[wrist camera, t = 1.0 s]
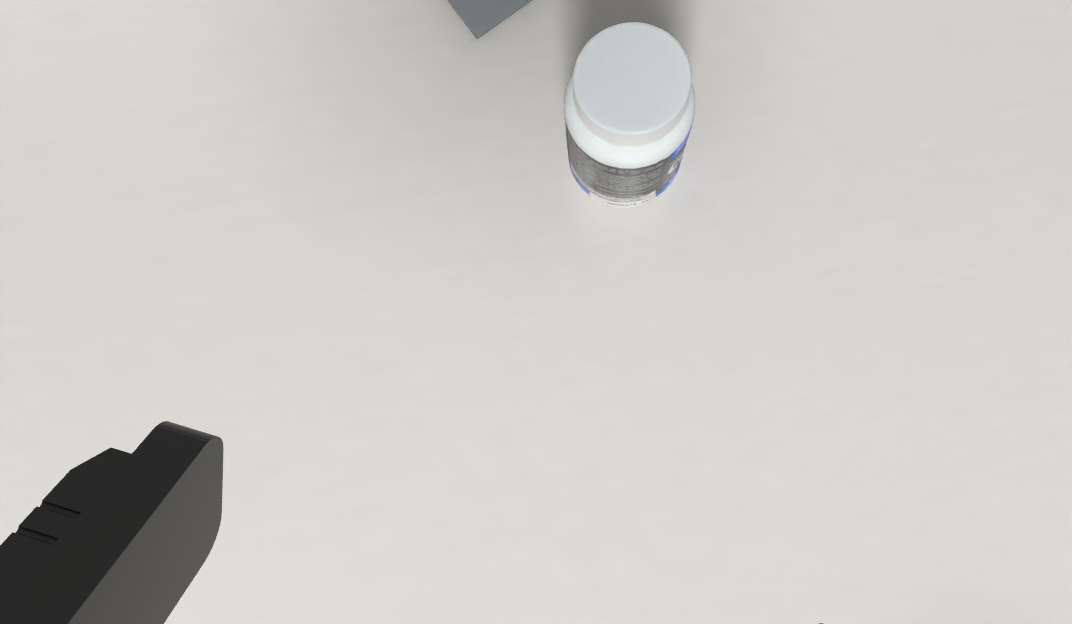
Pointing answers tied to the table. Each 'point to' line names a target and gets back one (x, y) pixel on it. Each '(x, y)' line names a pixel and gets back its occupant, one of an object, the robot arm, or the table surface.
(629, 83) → the pill bottle
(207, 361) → the table surface
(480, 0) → the rubber mat
